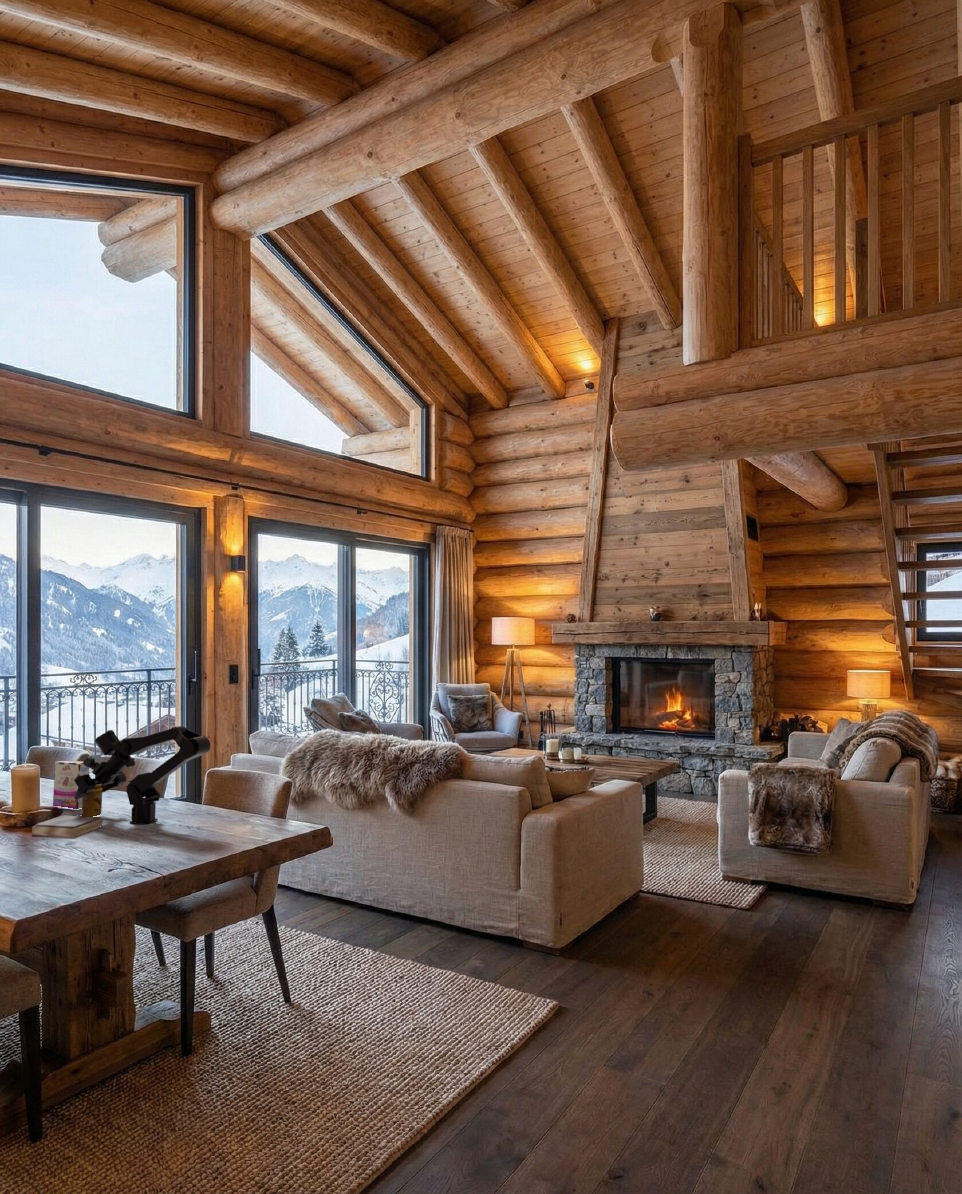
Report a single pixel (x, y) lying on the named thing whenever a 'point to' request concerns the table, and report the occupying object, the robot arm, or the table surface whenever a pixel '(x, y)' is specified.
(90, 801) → the condiment
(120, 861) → the table surface
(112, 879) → the table surface
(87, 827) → the birch base
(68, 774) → the candy bar box
